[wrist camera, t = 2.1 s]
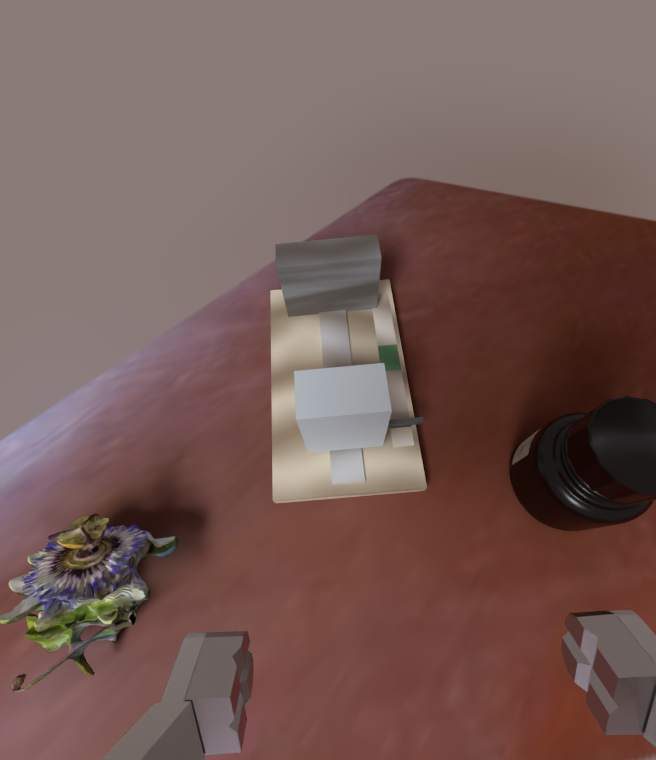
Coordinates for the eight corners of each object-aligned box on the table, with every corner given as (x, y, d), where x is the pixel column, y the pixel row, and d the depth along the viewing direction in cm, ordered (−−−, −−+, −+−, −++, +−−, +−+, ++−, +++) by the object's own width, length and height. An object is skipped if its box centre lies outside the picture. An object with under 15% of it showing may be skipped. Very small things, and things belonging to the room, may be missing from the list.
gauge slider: (425, 442, 36) (446, 406, 28) (308, 452, 37) (295, 419, 28) (415, 388, 39) (432, 341, 31) (305, 398, 39) (293, 354, 31)
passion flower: (157, 546, 41) (186, 499, 33) (147, 673, 34) (181, 653, 27) (24, 550, 35) (22, 495, 28) (-18, 703, 29) (-35, 687, 21)
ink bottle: (591, 430, 38) (685, 376, 27) (629, 526, 34) (756, 506, 24) (491, 440, 38) (546, 390, 28) (518, 536, 34) (594, 522, 24)
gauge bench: (424, 490, 37) (446, 466, 28) (275, 503, 37) (252, 483, 28) (388, 287, 47) (396, 225, 38) (272, 298, 47) (255, 238, 39)
